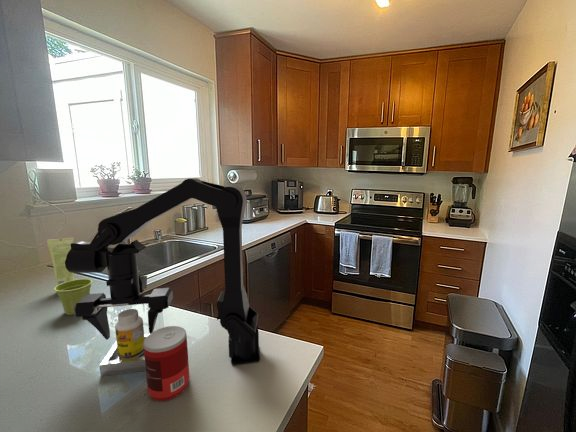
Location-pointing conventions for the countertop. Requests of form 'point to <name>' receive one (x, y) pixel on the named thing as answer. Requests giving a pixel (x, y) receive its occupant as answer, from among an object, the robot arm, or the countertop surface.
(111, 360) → the square metal tray
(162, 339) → the canned food
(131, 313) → the supplement bottle
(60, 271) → the tube
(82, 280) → the plant pot
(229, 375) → the countertop surface
